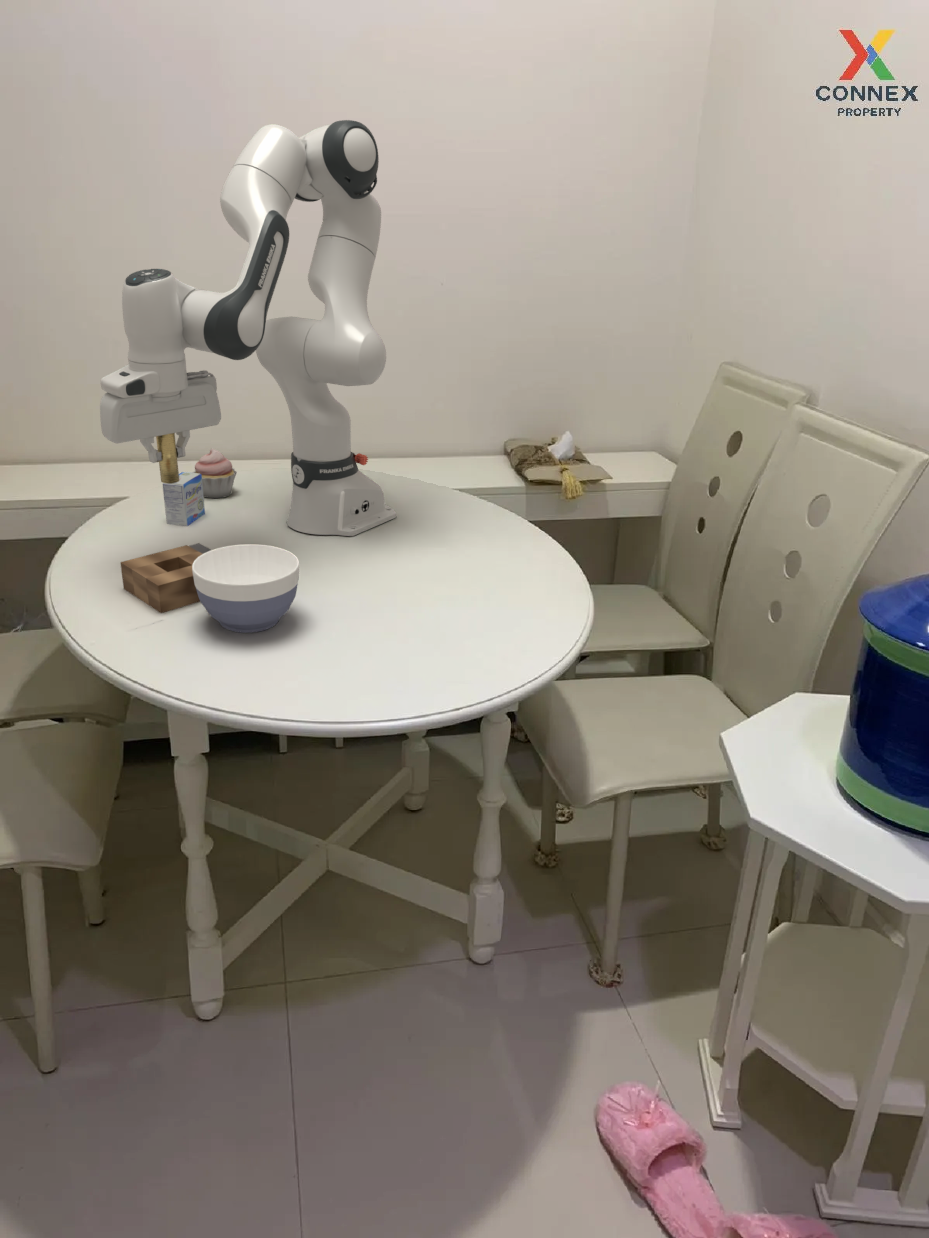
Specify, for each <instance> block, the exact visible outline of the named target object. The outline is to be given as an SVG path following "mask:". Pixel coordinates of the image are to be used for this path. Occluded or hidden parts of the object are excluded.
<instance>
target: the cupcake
mask: <svg viewBox="0 0 929 1238" xmlns="http://www.w3.org/2000/svg"><path fill="white" fill-rule="evenodd" d="M192 473H199V474H201V475H202V485H203V497H205V498H209V499H220V498H225V497H228V496H230V495H231V494H232V492H233V486H234V483H235V478H236V476H237V473H238V471H237V470H235V468H234V467H233V464H232V462H231V461H230V459H228V458H227V457H225V456H224V455H223V452H221V451H220V450H217V449H216V448H212V447H211V448H210V450H209V453H206V454H203V455H202V456H201V457H200V458H199V460H198V461H197V462H196V463H195V464H194V471H192Z"/></svg>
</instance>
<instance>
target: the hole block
mask: <svg viewBox="0 0 929 1238" xmlns="http://www.w3.org/2000/svg"><path fill="white" fill-rule="evenodd" d="M200 555H202V553H200V552H198V551H196V550H195V549H193V548H191V547H189V545H188V544H185V545H182V546H178V547H174V548H170V549H166V550H162V551H159V552H158V551H157V552H154V553H151V554H147V555H143V556H138V557H135V558H131V559H128V560H124V561H120V568H121V569H120V570H121V571H120V572H121V577H122V584H123V585H122V586H123V590H124V591H126V592H128V593H129V594H131V595H132V596H133V597H135V598H137V599H139V601H142V602H143V603H144V604H146V605H148V606H149V607H150V608H152V609H153V610H155V611H157V612H158V613H160V614H163V613H167V612H170V611H173V610H177V609H180V608H183V607H186V606H190V605H194V604H197V603H199V602H200V603H201V601H200V600H199V597H198V593H197V590H196V587H195V584H194V578H193V571H192V565H193V563H194V561H195V560H196V559H197V558H198V557H199V556H200Z"/></svg>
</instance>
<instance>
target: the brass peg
mask: <svg viewBox="0 0 929 1238" xmlns="http://www.w3.org/2000/svg"><path fill="white" fill-rule="evenodd" d="M175 434H176V433H172V434H166V435H161V436H156V438H155V439H156V448H157V449H156V450H158V451H161V453H162V456H161V458H162V461H160V462H158V464H159V475H160V483H162V484H163V483H176V482H179V474H180V473H179V465H178V463H179V462H178V458H177V452H176V443H177V442H176V435H175Z"/></svg>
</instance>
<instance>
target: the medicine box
mask: <svg viewBox="0 0 929 1238" xmlns="http://www.w3.org/2000/svg"><path fill="white" fill-rule="evenodd" d="M192 472H193V471H192ZM192 472H190V471H181V472H180V473H179V482H176V483H162V492H163V494H162V495H163V501H164V511H165V520H166V524H167V525H172V526H180V527H188V526H189V525H191V524H192V523H194V522H196V521H197V520H198V519H200V518H201V517H203V516H204V515H205V513H206V511H205V509H206V508H205V499H204V497H205V496H203V485H202V475H201V474H199V473H192Z"/></svg>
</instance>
